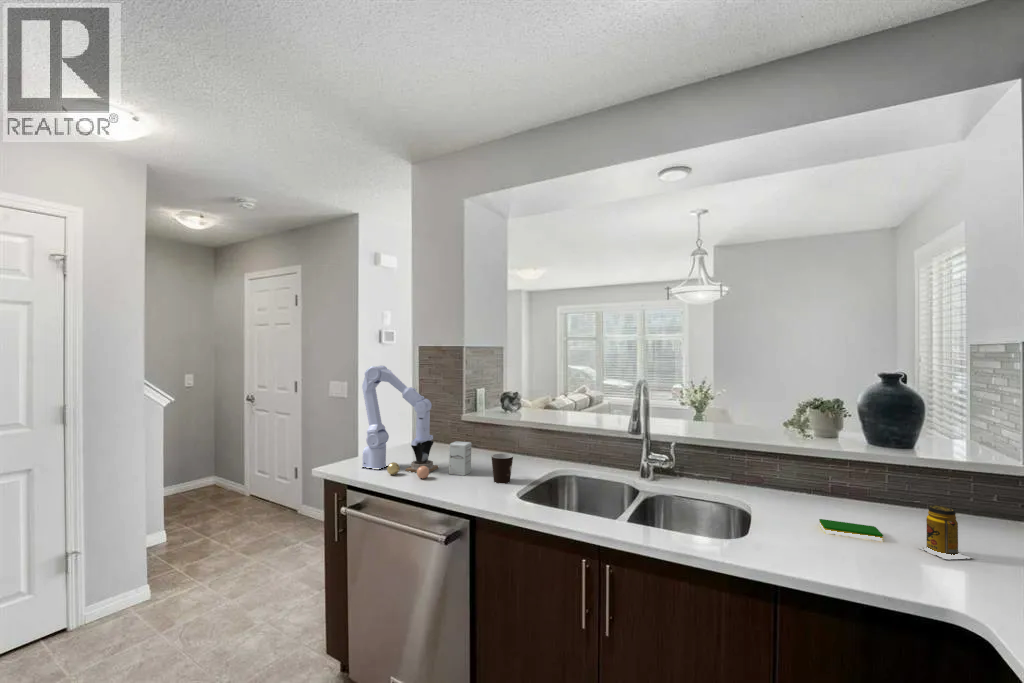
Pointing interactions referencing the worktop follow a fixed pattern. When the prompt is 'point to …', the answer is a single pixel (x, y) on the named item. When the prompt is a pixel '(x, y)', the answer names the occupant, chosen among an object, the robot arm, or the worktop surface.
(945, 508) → the condiment
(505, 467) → the coffee mug
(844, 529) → the dish sponge
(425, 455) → the steel ball
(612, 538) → the worktop surface
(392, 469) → the brass ball
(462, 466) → the supplement box
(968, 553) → the worktop surface
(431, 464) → the race board
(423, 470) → the terracotta ball
